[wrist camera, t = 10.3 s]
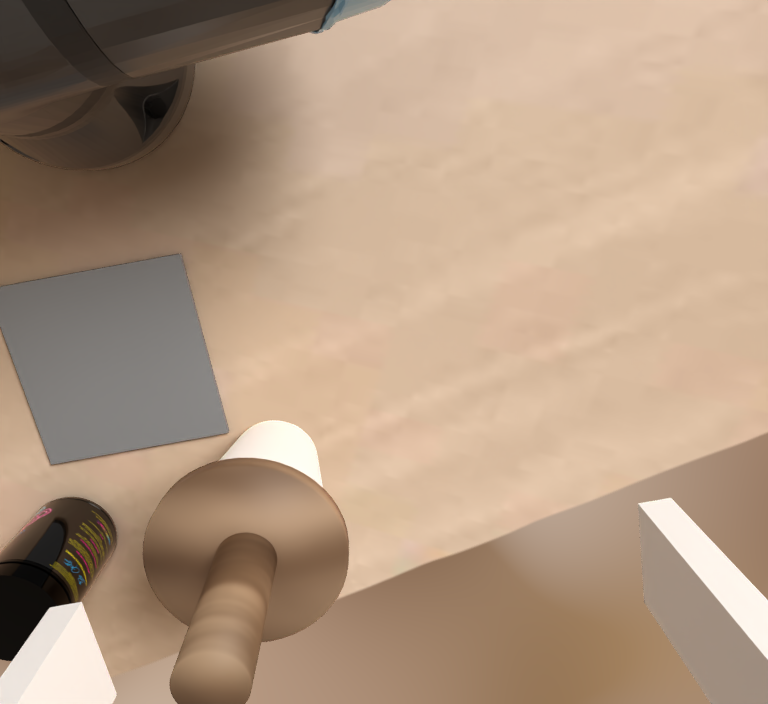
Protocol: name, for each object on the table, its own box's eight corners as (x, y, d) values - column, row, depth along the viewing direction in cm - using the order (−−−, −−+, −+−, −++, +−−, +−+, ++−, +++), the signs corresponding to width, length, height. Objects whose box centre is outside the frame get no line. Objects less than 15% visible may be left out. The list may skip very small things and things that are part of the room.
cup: (201, 483, 50) (154, 579, 38) (243, 387, 47) (206, 457, 36) (305, 524, 51) (290, 628, 39) (351, 431, 49) (349, 513, 37)
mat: (-11, 288, 44) (-14, 289, 44) (181, 253, 44) (179, 254, 44) (53, 462, 48) (51, 464, 48) (229, 430, 48) (228, 432, 48)
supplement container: (74, 476, 49) (1, 556, 39) (138, 531, 51) (84, 621, 41) (17, 527, 50) (-68, 617, 40) (82, 579, 52) (15, 678, 42)
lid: (124, 477, 36) (33, 597, 26) (327, 440, 36) (314, 547, 26) (180, 643, 39) (119, 806, 29) (365, 611, 39) (367, 763, 29)
